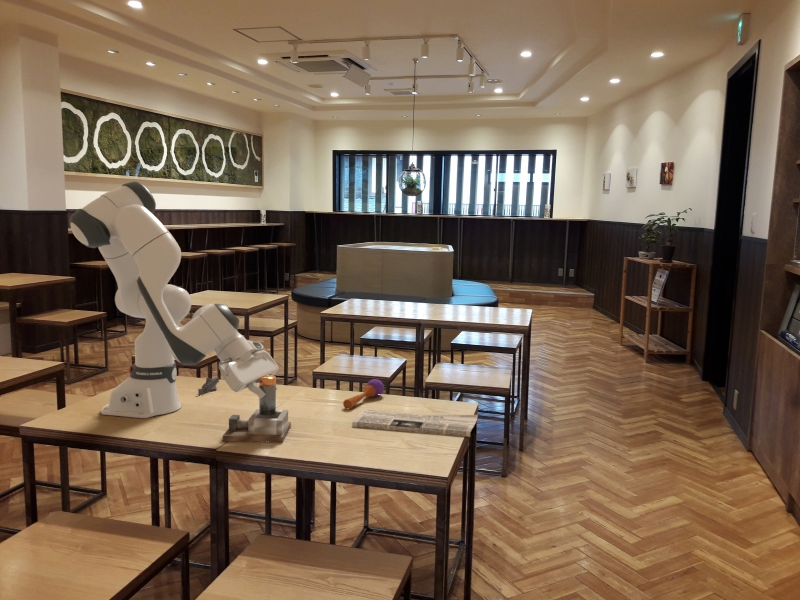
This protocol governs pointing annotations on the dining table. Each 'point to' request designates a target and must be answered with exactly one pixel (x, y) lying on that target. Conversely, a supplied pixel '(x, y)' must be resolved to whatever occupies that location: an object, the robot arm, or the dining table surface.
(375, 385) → the kendama
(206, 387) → the animal figurine
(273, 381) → the orange topped cylinder
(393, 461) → the dining table surface
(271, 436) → the shaft base
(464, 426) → the newspaper
